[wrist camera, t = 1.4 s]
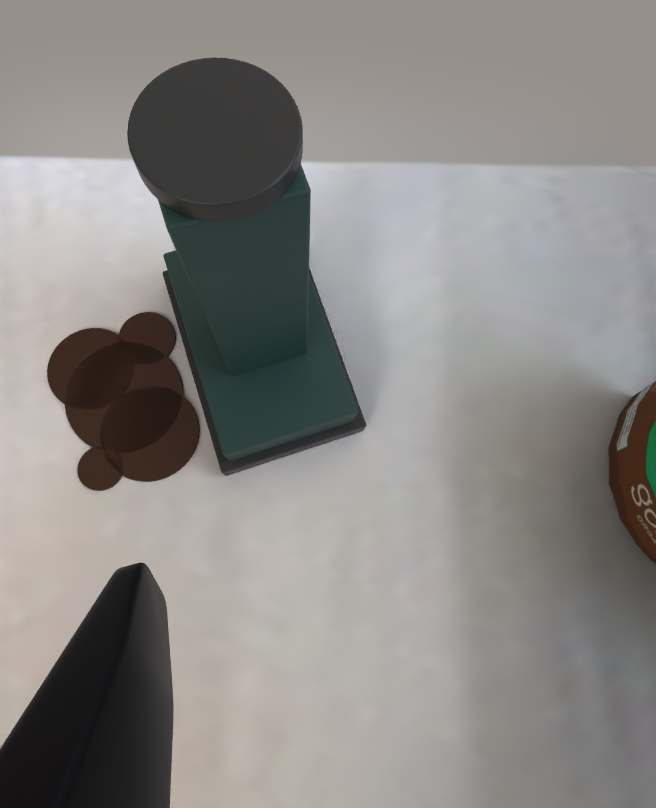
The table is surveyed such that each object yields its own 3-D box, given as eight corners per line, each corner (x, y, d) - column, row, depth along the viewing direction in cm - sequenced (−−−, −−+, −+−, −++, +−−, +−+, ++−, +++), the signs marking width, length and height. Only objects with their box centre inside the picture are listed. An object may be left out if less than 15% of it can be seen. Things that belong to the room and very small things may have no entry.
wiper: (364, 430, 23) (441, 286, 10) (225, 476, 22) (117, 384, 9) (297, 245, 25) (290, -74, 12) (167, 282, 24) (13, -15, 11)
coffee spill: (213, 462, 23) (212, 462, 23) (78, 506, 22) (77, 506, 22) (167, 306, 24) (166, 305, 24) (40, 343, 24) (39, 342, 23)
